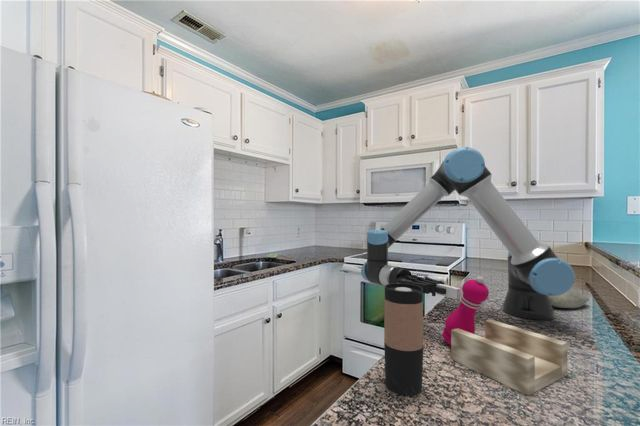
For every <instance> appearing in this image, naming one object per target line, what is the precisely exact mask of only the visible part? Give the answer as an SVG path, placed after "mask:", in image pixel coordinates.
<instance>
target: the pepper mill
mask: <svg viewBox="0 0 640 426" xmlns="http://www.w3.org/2000/svg"><path fill="white" fill-rule="evenodd" d="M461 291H462V292H461V297H460V299H459V300H460V303H459V305H458V307H456V309H454V310H453V311H452V312H451V313H449V315H448V316H446V319H445V320H444V326H445V327H444V329H443V331H442V335H441V337H442V339H443V340H444V341H445V342H446V343H447V344H448V345H450V346H451V330H453V329H457V328H459V329H461V330H464V331H467V332H470V333H472V334H475V332H476V323H475V316H476V313H477V310H478V309H481V306H482V305H483V302H485V301H486V300H487V299H488V297H489V293H490V292H489V289H488V286H487V285H486V284H485V279H484V278H483V276H481V275H480V276H477V277H475V279H468V280H466V281H465V282H463V284H462V287H461Z"/></svg>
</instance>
